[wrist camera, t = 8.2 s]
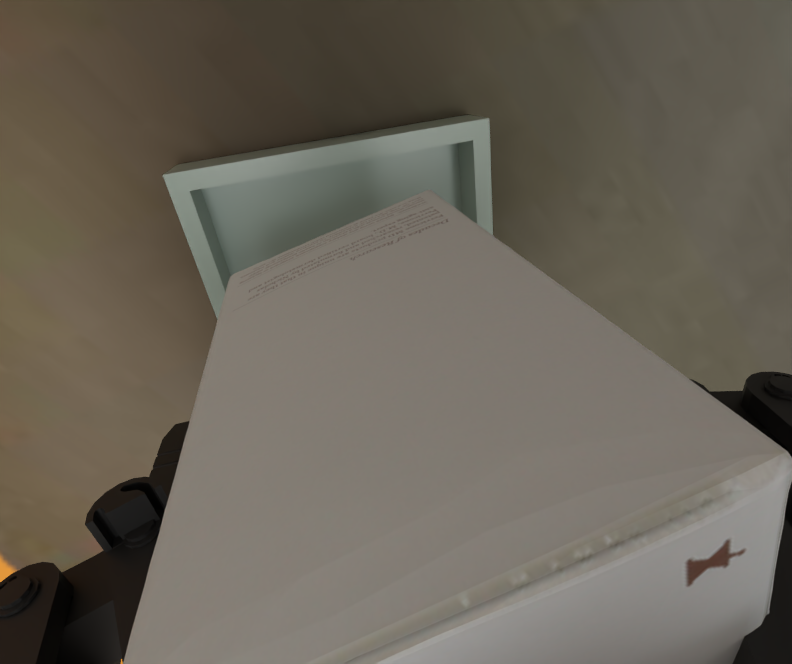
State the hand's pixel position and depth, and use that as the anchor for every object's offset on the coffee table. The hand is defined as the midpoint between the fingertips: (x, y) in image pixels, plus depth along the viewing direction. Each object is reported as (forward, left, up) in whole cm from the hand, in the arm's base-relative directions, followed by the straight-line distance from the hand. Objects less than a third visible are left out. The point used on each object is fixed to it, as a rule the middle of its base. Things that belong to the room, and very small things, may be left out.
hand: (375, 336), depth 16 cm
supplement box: (0, 0, -1) cm, 1 cm away
